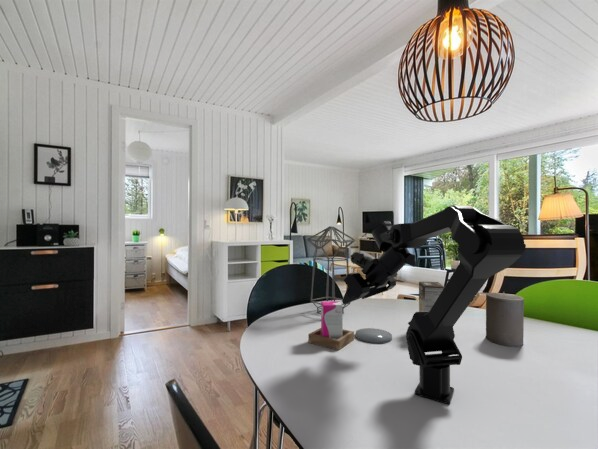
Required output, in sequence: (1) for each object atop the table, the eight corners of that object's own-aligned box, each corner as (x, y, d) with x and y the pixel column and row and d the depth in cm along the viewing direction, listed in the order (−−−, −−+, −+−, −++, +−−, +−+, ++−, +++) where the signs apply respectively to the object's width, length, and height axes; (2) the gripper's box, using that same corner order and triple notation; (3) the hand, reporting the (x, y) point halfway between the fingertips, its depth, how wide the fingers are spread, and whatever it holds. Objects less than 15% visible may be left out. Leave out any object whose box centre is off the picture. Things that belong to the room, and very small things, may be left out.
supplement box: (339, 337, 94) (339, 300, 95) (342, 345, 88) (343, 305, 89) (320, 337, 94) (321, 300, 94) (322, 345, 88) (323, 305, 88)
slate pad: (385, 346, 88) (385, 342, 88) (349, 338, 94) (349, 335, 94) (396, 335, 97) (396, 332, 97) (363, 329, 103) (363, 326, 103)
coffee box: (418, 327, 105) (418, 281, 105) (438, 329, 104) (438, 281, 104) (423, 336, 96) (423, 285, 96) (445, 338, 95) (445, 286, 95)
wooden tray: (339, 350, 84) (339, 341, 84) (308, 342, 90) (308, 334, 90) (353, 339, 93) (353, 331, 93) (324, 333, 98) (324, 325, 98)
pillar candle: (478, 337, 96) (478, 289, 96) (500, 333, 99) (500, 287, 100) (509, 349, 87) (509, 296, 87) (532, 344, 90) (532, 293, 90)
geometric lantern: (303, 312, 123) (304, 226, 124) (329, 306, 134) (330, 226, 135) (332, 321, 112) (333, 225, 113) (358, 313, 122) (359, 226, 123)
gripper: (386, 241, 90) (354, 274, 97) (350, 241, 76) (316, 281, 84) (412, 270, 84) (376, 303, 91) (378, 276, 71) (339, 315, 78)
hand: (352, 300), depth 86 cm, fingers open, 9 cm apart
